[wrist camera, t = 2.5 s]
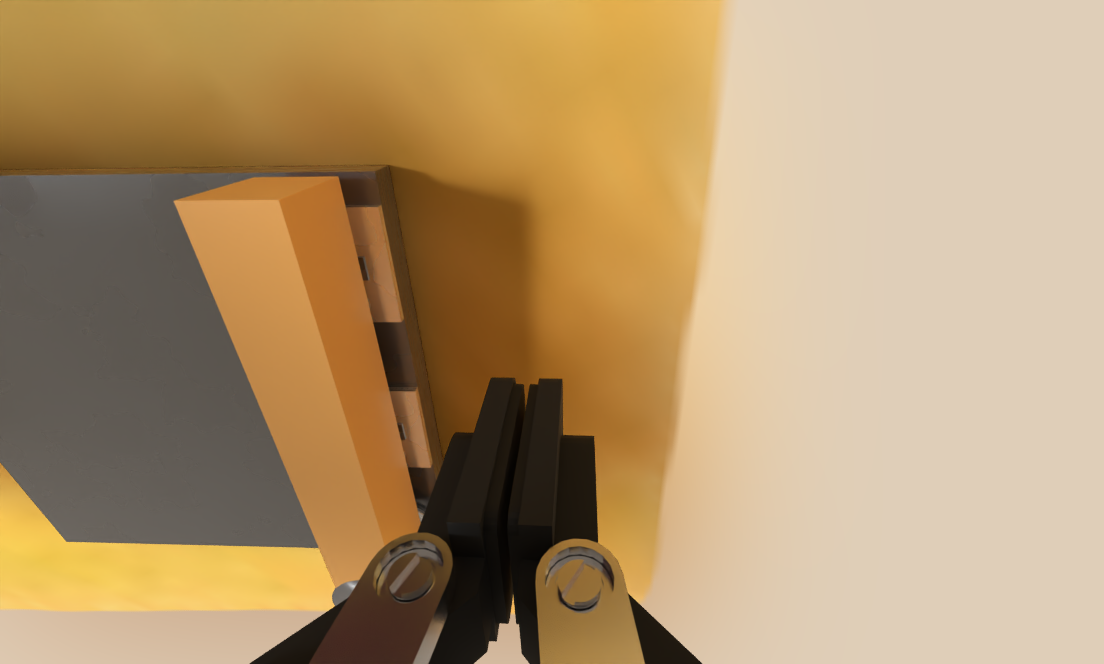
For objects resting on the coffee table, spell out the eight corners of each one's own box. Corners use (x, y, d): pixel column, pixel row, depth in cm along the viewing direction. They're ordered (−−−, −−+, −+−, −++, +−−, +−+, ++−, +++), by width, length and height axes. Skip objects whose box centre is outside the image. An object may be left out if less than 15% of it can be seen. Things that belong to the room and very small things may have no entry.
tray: (88, 521, 24) (56, 550, 23) (-182, 171, 15) (-263, 181, 14) (455, 530, 23) (447, 560, 22) (388, 164, 15) (368, 174, 13)
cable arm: (436, 560, 21) (418, 627, 19) (370, 559, 21) (342, 625, 19) (350, 176, 13) (293, 199, 10) (242, 177, 13) (159, 200, 10)
